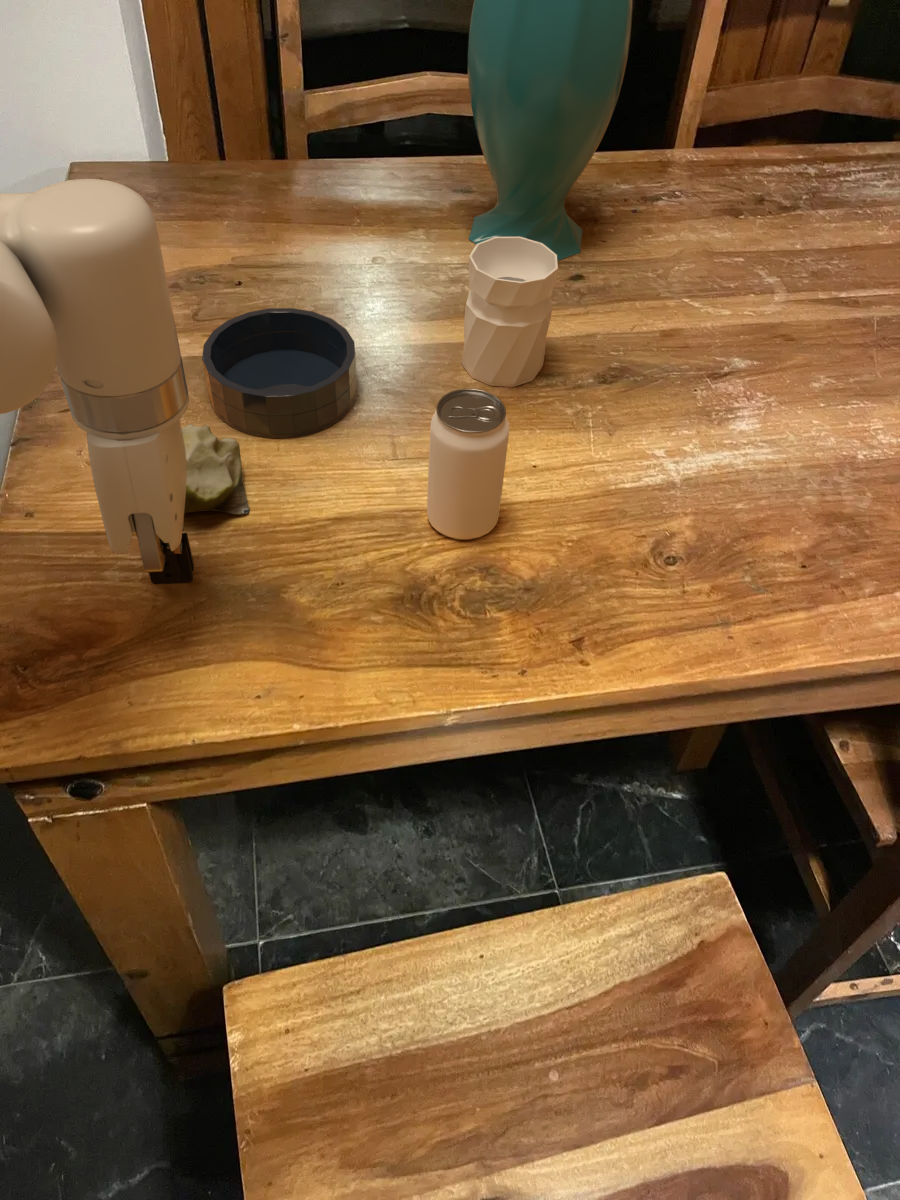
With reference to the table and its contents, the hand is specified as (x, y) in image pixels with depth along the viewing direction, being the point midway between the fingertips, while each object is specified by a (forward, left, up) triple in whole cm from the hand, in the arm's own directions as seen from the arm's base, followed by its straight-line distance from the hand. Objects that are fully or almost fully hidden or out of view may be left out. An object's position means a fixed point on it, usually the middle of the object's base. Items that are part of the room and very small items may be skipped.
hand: (173, 576), depth 74 cm
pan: (+8, +27, -3) cm, 28 cm away
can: (+24, +8, -3) cm, 26 cm away
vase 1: (+38, +58, -3) cm, 70 cm away
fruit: (+1, +12, -3) cm, 13 cm away
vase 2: (+31, +31, -3) cm, 44 cm away
